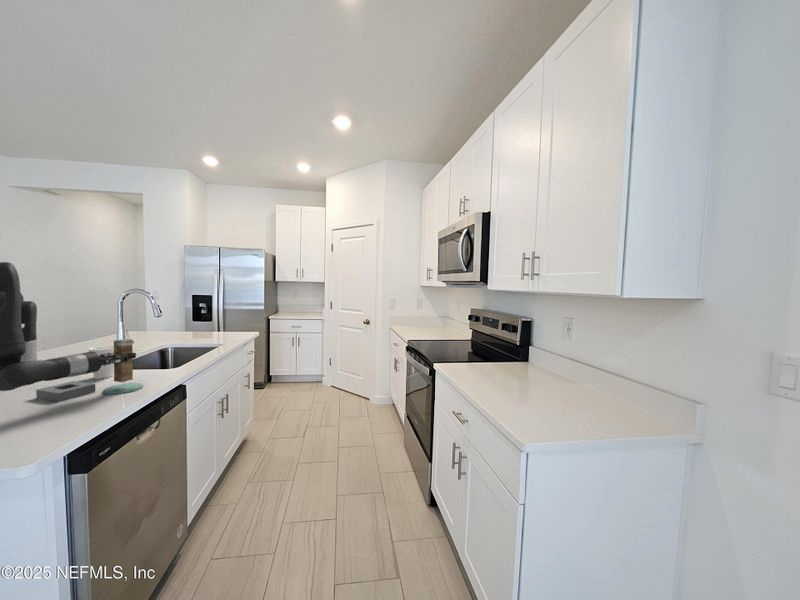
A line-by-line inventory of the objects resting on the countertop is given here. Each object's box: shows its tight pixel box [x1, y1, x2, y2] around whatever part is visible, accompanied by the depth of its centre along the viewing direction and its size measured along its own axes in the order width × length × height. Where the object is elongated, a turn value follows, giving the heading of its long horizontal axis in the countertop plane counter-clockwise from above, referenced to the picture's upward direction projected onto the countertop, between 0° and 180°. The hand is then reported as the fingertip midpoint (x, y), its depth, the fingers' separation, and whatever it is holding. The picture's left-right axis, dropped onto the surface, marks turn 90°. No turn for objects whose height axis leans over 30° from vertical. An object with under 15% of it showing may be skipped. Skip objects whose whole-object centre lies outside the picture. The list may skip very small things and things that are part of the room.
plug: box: [113, 338, 134, 383], centre depth 128 cm, size 4×4×16 cm
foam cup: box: [88, 345, 114, 380], centre depth 143 cm, size 10×9×13 cm
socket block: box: [35, 380, 96, 403], centre depth 121 cm, size 11×11×3 cm
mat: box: [102, 382, 144, 395], centre depth 128 cm, size 12×12×1 cm
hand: (130, 354), depth 130 cm, fingers closed on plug, 4 cm apart
